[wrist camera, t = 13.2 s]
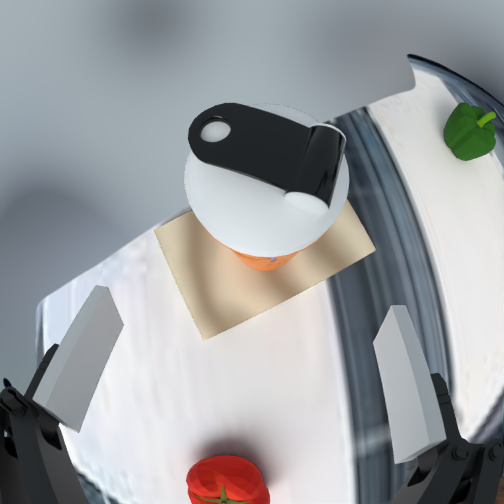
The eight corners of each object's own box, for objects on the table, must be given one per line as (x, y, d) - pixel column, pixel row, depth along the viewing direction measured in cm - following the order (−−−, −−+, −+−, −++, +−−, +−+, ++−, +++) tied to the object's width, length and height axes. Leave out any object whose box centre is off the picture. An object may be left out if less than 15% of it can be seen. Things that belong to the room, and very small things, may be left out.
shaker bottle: (234, 195, 32) (198, 68, 13) (310, 208, 32) (365, 91, 12) (217, 271, 31) (143, 221, 11) (298, 286, 30) (359, 259, 11)
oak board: (314, 156, 34) (316, 151, 33) (371, 252, 32) (375, 250, 31) (158, 233, 34) (153, 230, 32) (206, 338, 31) (203, 340, 30)
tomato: (254, 441, 29) (251, 468, 22) (276, 498, 27) (277, 526, 20) (181, 452, 29) (166, 477, 22) (209, 507, 27) (201, 534, 20)
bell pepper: (446, 165, 34) (482, 135, 24) (431, 121, 35) (459, 86, 25) (480, 170, 33) (515, 145, 24) (465, 128, 35) (494, 99, 25)
